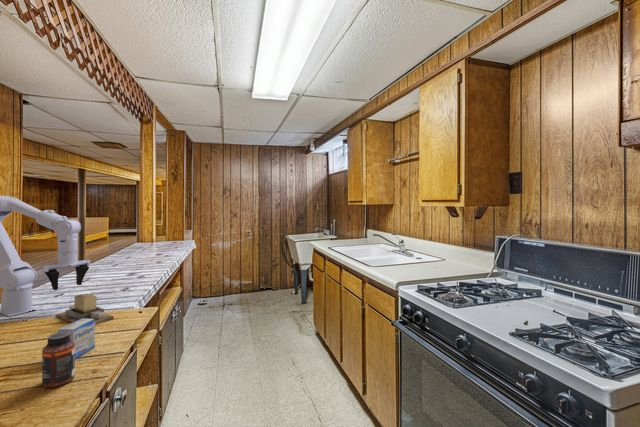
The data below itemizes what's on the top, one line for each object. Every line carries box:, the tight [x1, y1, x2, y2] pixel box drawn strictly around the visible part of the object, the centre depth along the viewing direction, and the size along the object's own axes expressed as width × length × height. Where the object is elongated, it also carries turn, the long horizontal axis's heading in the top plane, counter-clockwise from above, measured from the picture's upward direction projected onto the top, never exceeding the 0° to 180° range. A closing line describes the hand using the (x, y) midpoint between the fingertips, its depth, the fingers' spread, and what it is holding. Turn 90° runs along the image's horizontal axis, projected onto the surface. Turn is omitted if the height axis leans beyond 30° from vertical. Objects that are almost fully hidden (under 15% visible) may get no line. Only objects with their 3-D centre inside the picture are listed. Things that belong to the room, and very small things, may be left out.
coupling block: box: [73, 293, 97, 314], centre depth 110 cm, size 4×6×7 cm, turn 65°
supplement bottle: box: [41, 332, 76, 389], centre depth 72 cm, size 6×6×11 cm
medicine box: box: [57, 319, 96, 360], centre depth 85 cm, size 8×4×9 cm, turn 179°
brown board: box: [55, 304, 115, 326], centre depth 110 cm, size 19×9×3 cm, turn 64°
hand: (67, 287), depth 115 cm, fingers open, 7 cm apart
